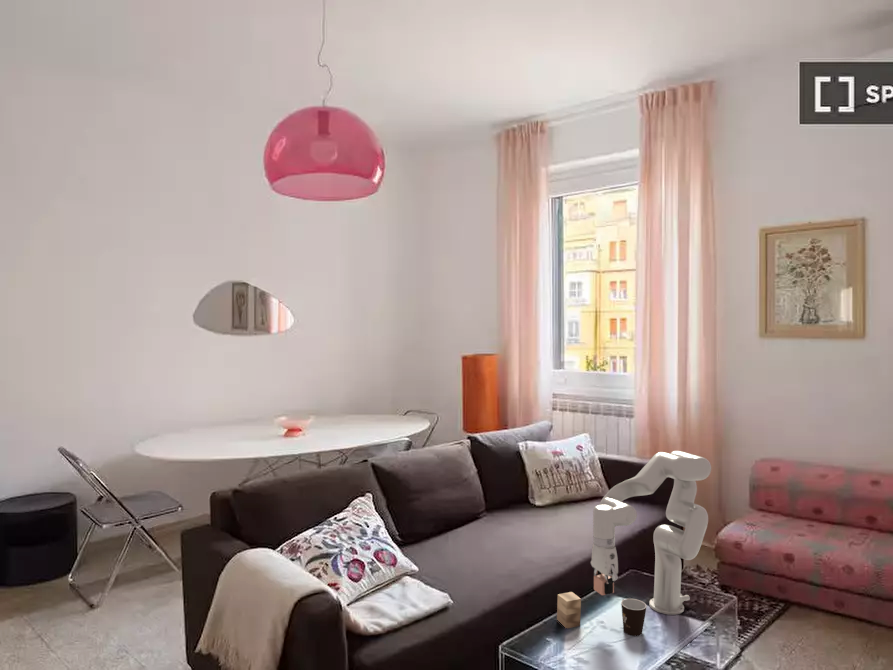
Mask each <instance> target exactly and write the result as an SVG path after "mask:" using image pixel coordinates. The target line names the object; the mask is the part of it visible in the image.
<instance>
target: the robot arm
mask: <svg viewBox="0 0 893 670" xmlns="http://www.w3.org/2000/svg"><path fill="white" fill-rule="evenodd" d="M711 472H712V465H711V462H710V461H709V460H708V459H707V457H704V456H700V455H696V454H693V453H689V452H686V451H682V450H673V451H671V452H670V453H669V452H664V451H659V452H657V453H655V454H654V455H653V456H652V457H651V458H650V459H649V461H648V462H647V463H646V464H645V465H644V466H643V467H642V468H641V470H640V471H639V472H638V473H637V474H636V475H635V476H633V477H631V478H629V479H625V480H624V481H622V482H619V483H617V484H616V485H614V486H613V487H611V488H610V489H609V490H608V491H607V493H606V494H605V495H604V496H603V497H602V499H601V500H600V502H599V504H598V505H595V506H594V507H593V510H592V521H593V522H592V548H591V560H590V565H591V567H592V569H593V570H592V571H593V577H594V576H596V575H601V574H604V575H605V581H606V583H605V594H606V595H610V594H614V593H613V583H614V584H615V582H616V581H617V580H618V579H619V577H618V574H619V560H618V559H619V558H618V553H617V547H616V530H615V529H616V527H621V526H622V527H624V526H625V527H626V526H629V525H632V524H634V523H635V522H636V519H637V517H638V513H637V510H636V509H635V507H634V506H633V505H630V504H628V503H626V502H624V500H627V499H630V498H633V497H640V496H643V497H644V496H648V495H653V494H654V493H655V492H656V491H657V490H658V488H659V487H660V486H661V485H662V484H663V483H664V481H665V480H666V479H667V478H671V479H673V488H672V491H671V494H670V497H669V500H668V503H667V506H666V510H665V517H666V519H667V520H669V522H671V523H674V524H676V525H678V526H680V527H683V528H685V529H683V530H682V529H681V528H678V527H676V526H673V525H669V524H661V525H660V524H659V525H658V526H657V527H655V530H654V531H653V536H652V537H653V539H652V540H653V541H652V542H653V544H654V553H655V554H654V556H655V557H654V558H655V559H654V560H655V561H654V584H653V585H654V586H653V598H650V599H649V602H648V603H649V604H648V605H649V606H650V608H651V609H653V610H654V611H655V612H657V613H660V614H664V615H669V616H670V615H671V616H674V615H676V616H677V615H681V614H682V613H683V612H684V611H685V606H684V604H683V603H684V601H690V598H691V597H690V596H689V595H688V594H685V595H683V594H682V593H681V585H682V584H681V583H682V560H681V559H683V560H686V561H692V560H694V559H695V558H696V557H697V555H698V554H699V551H700V549H701V546H702V543H703V540H704V537H705V534H706V531H707V528H708V523H709V514H708V512H707V510H706V508H705V507H703V506H701V505H700V504H697V503H695V500H696V496H697V492H698V486H697V482H696V481H703V480H706V479H707V478H708V477H709V476H710V475H711ZM608 576H610V578H609V579H608Z"/></svg>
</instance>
